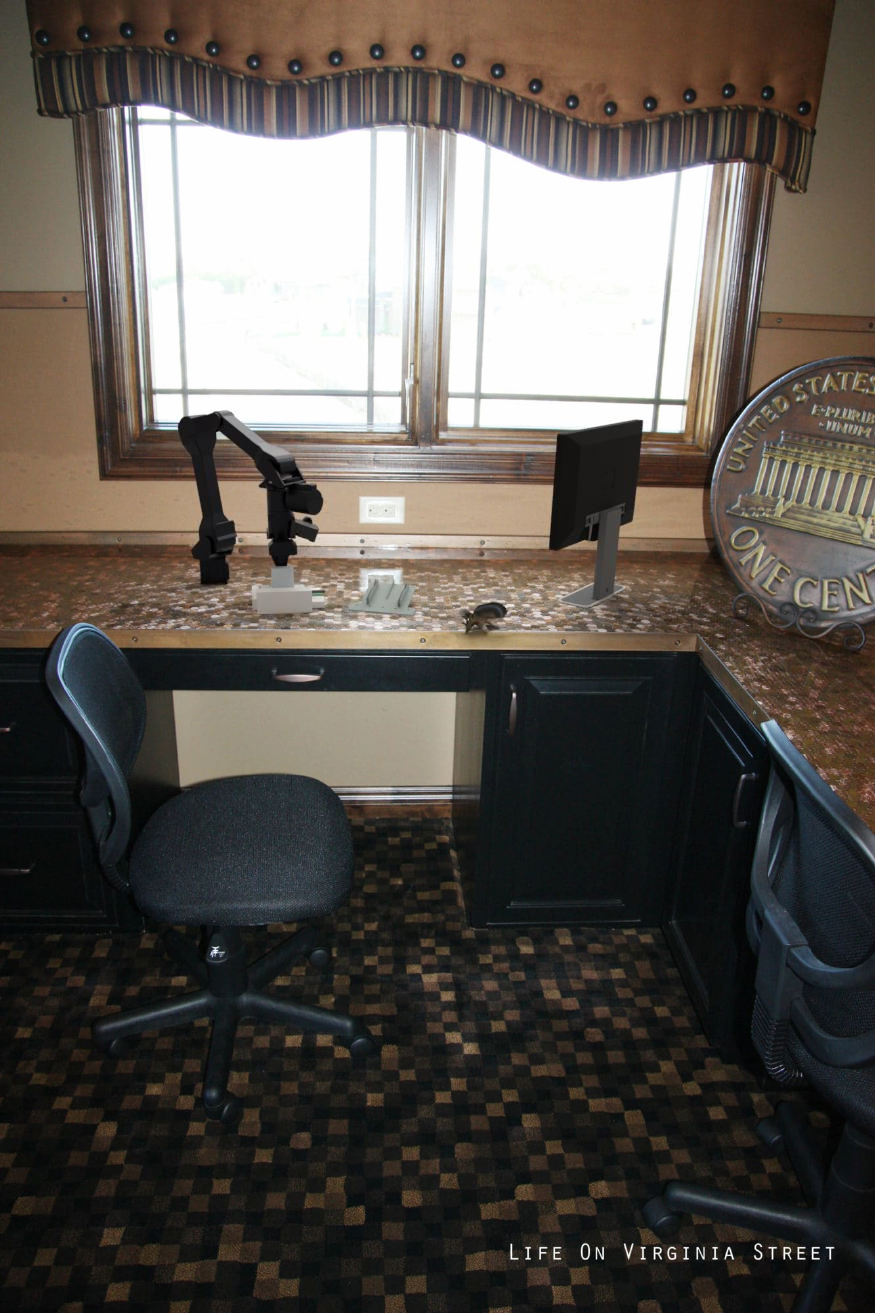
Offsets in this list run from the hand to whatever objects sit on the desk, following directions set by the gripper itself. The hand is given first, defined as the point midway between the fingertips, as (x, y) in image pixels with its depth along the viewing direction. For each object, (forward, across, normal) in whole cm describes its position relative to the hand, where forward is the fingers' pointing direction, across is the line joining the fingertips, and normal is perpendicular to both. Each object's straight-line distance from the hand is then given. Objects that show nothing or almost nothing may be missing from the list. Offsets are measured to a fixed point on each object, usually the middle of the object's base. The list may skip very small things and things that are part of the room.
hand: (282, 576), depth 211 cm
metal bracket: (+6, -9, -23) cm, 25 cm away
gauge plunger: (+5, -4, -2) cm, 6 cm away
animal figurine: (+6, -29, -41) cm, 50 cm away
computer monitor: (+6, -6, -74) cm, 74 cm away
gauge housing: (+5, -5, -1) cm, 7 cm away
